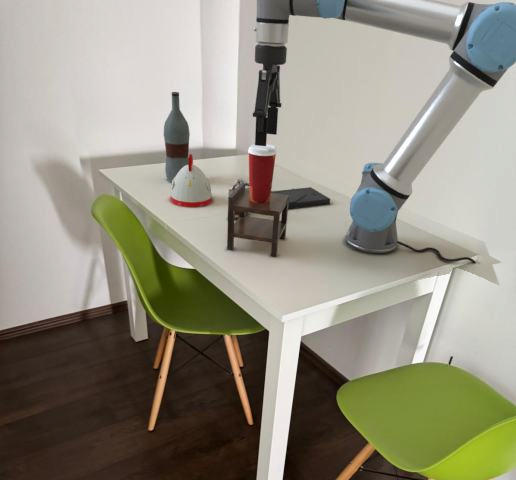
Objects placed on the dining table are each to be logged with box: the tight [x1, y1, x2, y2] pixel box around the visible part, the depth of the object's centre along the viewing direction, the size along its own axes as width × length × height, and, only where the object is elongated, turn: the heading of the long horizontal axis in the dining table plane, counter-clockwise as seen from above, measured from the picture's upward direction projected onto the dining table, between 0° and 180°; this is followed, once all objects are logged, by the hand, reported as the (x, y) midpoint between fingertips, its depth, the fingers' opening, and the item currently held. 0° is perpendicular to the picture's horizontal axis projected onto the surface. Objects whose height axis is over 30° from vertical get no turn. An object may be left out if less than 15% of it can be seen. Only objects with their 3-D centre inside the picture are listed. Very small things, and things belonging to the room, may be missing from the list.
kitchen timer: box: [170, 153, 213, 208], centre depth 170 cm, size 14×14×15 cm
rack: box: [226, 182, 289, 258], centre depth 142 cm, size 14×14×15 cm
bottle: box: [163, 91, 191, 184], centre depth 183 cm, size 9×9×30 cm
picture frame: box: [271, 186, 331, 210], centre depth 179 cm, size 13×2×18 cm
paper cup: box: [247, 143, 278, 203], centre depth 135 cm, size 8×8×14 cm
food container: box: [227, 178, 249, 221], centre depth 161 cm, size 12×6×10 cm, turn 168°
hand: (266, 139), depth 131 cm, fingers open, 13 cm apart
